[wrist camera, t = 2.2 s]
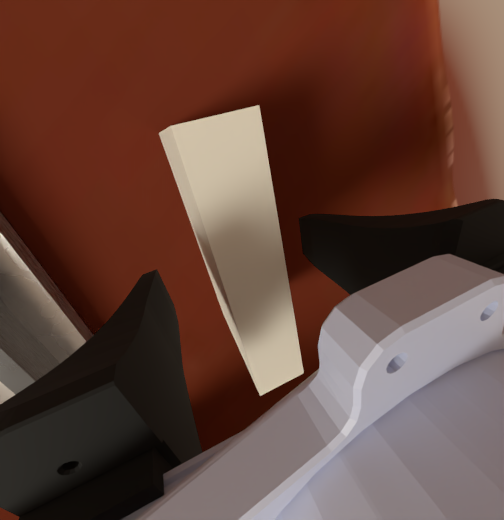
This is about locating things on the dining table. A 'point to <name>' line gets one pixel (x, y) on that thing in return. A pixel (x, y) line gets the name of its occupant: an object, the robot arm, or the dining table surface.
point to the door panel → (239, 236)
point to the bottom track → (31, 318)
